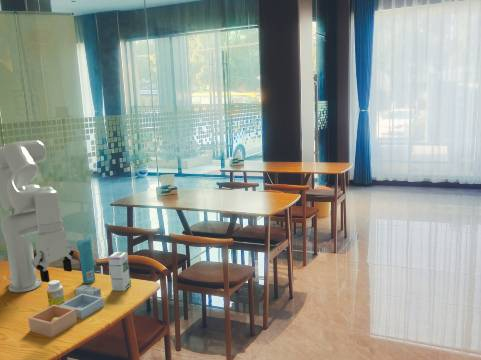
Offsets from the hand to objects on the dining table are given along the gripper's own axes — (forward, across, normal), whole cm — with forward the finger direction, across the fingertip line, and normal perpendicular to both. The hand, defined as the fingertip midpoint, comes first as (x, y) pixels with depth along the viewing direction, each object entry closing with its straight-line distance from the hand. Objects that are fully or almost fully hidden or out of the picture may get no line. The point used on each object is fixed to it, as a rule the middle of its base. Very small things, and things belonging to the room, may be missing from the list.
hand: (57, 276), depth 155 cm
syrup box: (+18, -32, -2) cm, 37 cm away
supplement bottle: (+18, -9, -13) cm, 24 cm away
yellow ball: (+17, +2, -1) cm, 17 cm away
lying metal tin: (+18, -20, -8) cm, 28 cm away
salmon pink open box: (+18, +3, -2) cm, 18 cm away
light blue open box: (+18, -10, -1) cm, 21 cm away
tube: (+18, -33, -20) cm, 42 cm away
